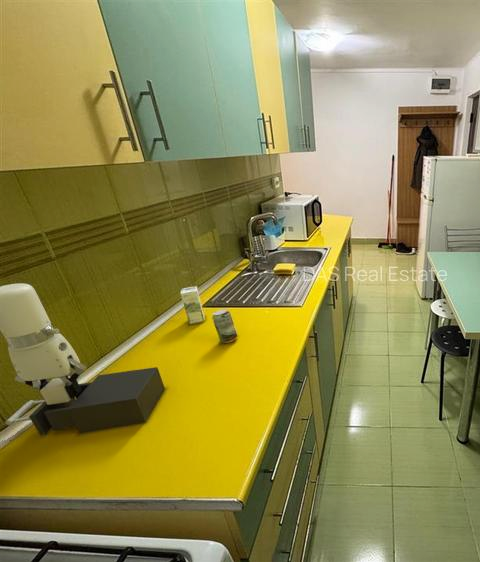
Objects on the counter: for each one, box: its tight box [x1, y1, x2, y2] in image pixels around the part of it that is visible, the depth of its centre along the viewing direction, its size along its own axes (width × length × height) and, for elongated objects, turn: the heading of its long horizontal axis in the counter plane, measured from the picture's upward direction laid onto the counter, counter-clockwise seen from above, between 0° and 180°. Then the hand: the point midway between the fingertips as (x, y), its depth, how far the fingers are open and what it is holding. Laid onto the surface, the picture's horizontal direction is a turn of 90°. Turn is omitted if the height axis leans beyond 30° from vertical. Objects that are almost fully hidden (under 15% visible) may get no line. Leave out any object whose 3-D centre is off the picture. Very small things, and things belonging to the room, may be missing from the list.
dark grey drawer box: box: [67, 366, 166, 435], centre depth 81 cm, size 15×13×8 cm
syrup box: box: [180, 285, 205, 326], centre depth 125 cm, size 6×6×14 cm
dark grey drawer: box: [4, 381, 93, 436], centre depth 79 cm, size 21×11×6 cm, turn 103°
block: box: [39, 375, 71, 405], centre depth 77 cm, size 4×4×4 cm
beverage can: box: [211, 308, 238, 344], centre depth 112 cm, size 6×7×12 cm
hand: (63, 395), depth 78 cm, fingers closed on block, 4 cm apart
